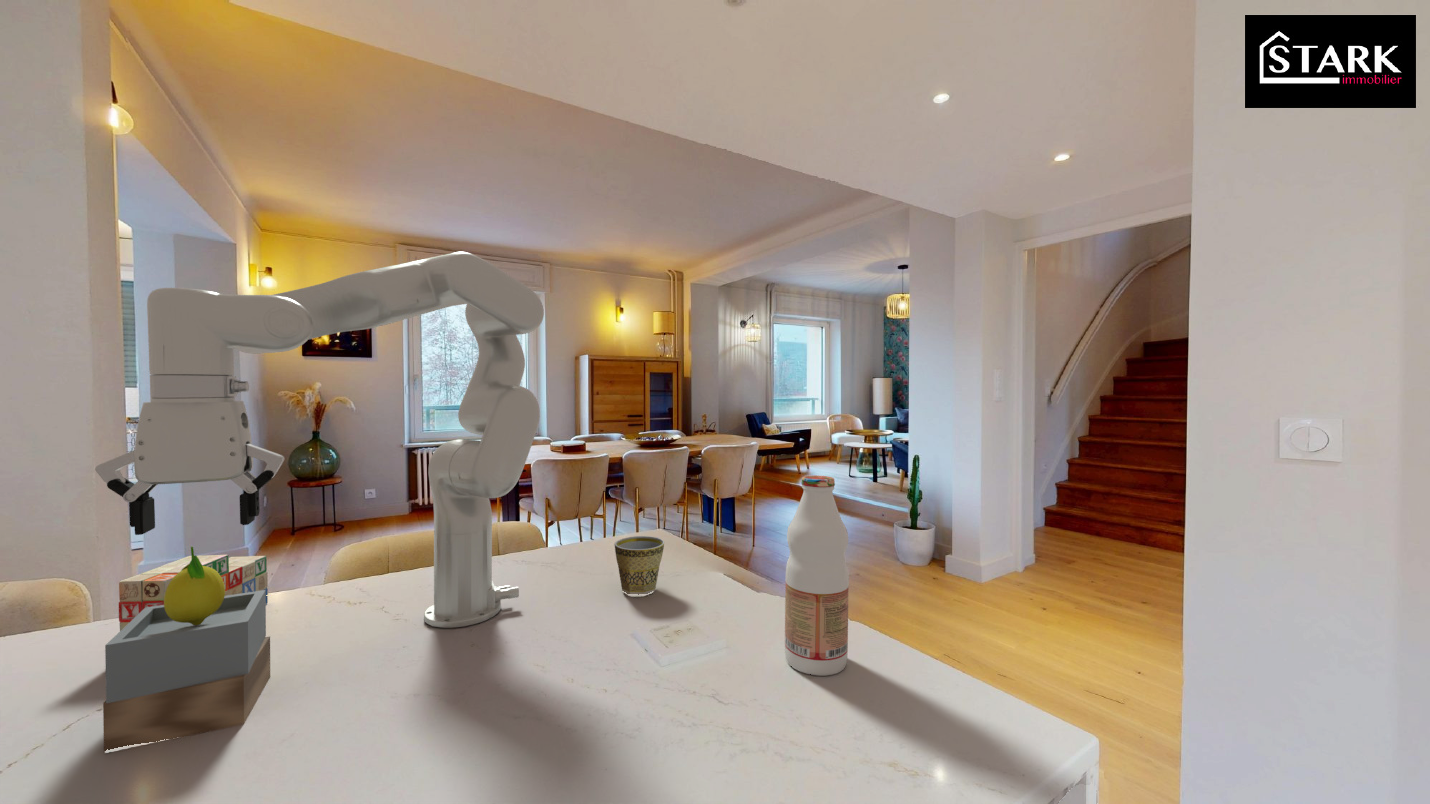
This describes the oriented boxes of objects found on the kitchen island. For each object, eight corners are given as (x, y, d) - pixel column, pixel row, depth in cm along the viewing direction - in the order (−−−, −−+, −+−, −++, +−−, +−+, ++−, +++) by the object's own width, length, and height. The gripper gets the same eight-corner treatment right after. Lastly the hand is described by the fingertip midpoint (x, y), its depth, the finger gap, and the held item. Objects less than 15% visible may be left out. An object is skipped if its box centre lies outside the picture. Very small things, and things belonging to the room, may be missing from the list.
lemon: (207, 633, 65) (202, 551, 65) (148, 640, 63) (143, 556, 63) (242, 611, 71) (238, 537, 71) (189, 617, 70) (184, 541, 70)
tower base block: (270, 678, 76) (270, 636, 76) (244, 725, 65) (243, 676, 65) (153, 700, 70) (153, 655, 70) (103, 756, 59) (103, 702, 59)
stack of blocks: (232, 605, 101) (232, 540, 100) (268, 604, 101) (268, 539, 101) (118, 662, 79) (117, 580, 79) (165, 660, 80) (164, 578, 80)
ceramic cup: (660, 601, 104) (661, 550, 104) (609, 600, 104) (609, 549, 104) (667, 578, 117) (668, 532, 117) (622, 577, 117) (622, 531, 117)
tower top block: (265, 635, 76) (265, 589, 76) (248, 673, 66) (247, 621, 65) (146, 657, 69) (145, 607, 69) (106, 703, 59) (105, 645, 59)
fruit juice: (780, 672, 78) (783, 480, 77) (788, 643, 87) (790, 471, 87) (847, 681, 76) (850, 484, 75) (847, 650, 85) (850, 474, 84)
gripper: (288, 389, 74) (292, 513, 74) (112, 390, 66) (117, 528, 66) (273, 390, 67) (277, 526, 68) (75, 391, 59) (81, 544, 60)
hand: (198, 527), depth 67 cm, fingers open, 9 cm apart
